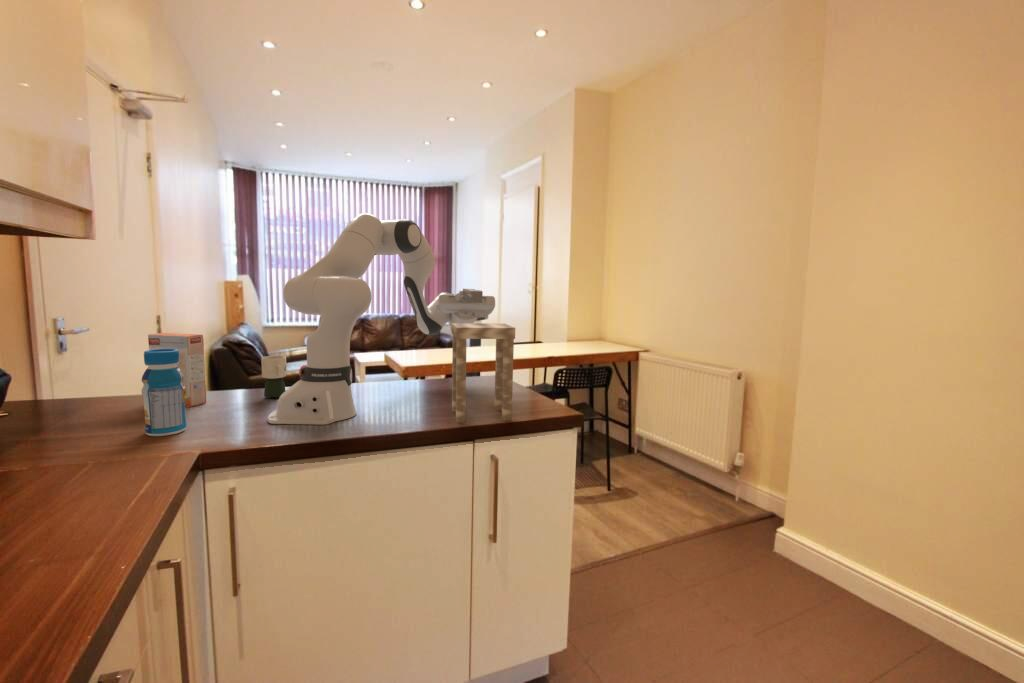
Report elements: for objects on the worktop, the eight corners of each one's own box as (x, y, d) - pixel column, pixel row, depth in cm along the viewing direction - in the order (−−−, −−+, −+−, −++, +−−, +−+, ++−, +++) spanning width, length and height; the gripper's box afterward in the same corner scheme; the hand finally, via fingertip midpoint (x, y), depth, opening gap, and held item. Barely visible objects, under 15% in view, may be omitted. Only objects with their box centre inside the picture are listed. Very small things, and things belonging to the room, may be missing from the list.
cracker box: (207, 403, 142) (204, 334, 140) (190, 408, 137) (186, 336, 134) (170, 399, 146) (166, 331, 143) (151, 404, 140) (146, 333, 137)
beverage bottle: (165, 438, 110) (160, 353, 108) (135, 435, 112) (129, 351, 109) (196, 428, 118) (191, 349, 116) (167, 425, 120) (162, 347, 118)
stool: (455, 422, 128) (456, 327, 125) (450, 409, 142) (451, 323, 139) (513, 420, 132) (515, 327, 129) (503, 407, 145) (504, 323, 142)
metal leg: (470, 302, 144) (471, 291, 144) (462, 298, 166) (462, 288, 165) (482, 302, 145) (482, 291, 145) (472, 298, 166) (472, 288, 166)
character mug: (292, 398, 150) (291, 358, 148) (268, 402, 145) (267, 360, 144) (281, 392, 158) (279, 354, 156) (257, 395, 153) (256, 356, 151)
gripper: (435, 302, 173) (438, 283, 161) (490, 304, 178) (497, 285, 166) (436, 318, 171) (438, 299, 159) (491, 319, 175) (498, 301, 163)
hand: (469, 292), depth 162 cm, fingers closed on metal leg, 3 cm apart
